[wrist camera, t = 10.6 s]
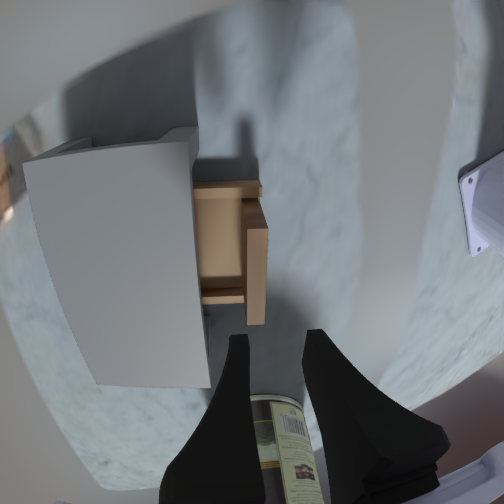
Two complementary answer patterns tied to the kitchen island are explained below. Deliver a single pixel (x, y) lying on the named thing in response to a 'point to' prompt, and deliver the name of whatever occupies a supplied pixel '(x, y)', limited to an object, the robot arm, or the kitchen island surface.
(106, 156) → the shelf
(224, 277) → the tray
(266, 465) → the coffee can
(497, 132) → the kitchen island surface
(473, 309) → the kitchen island surface
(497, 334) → the kitchen island surface
